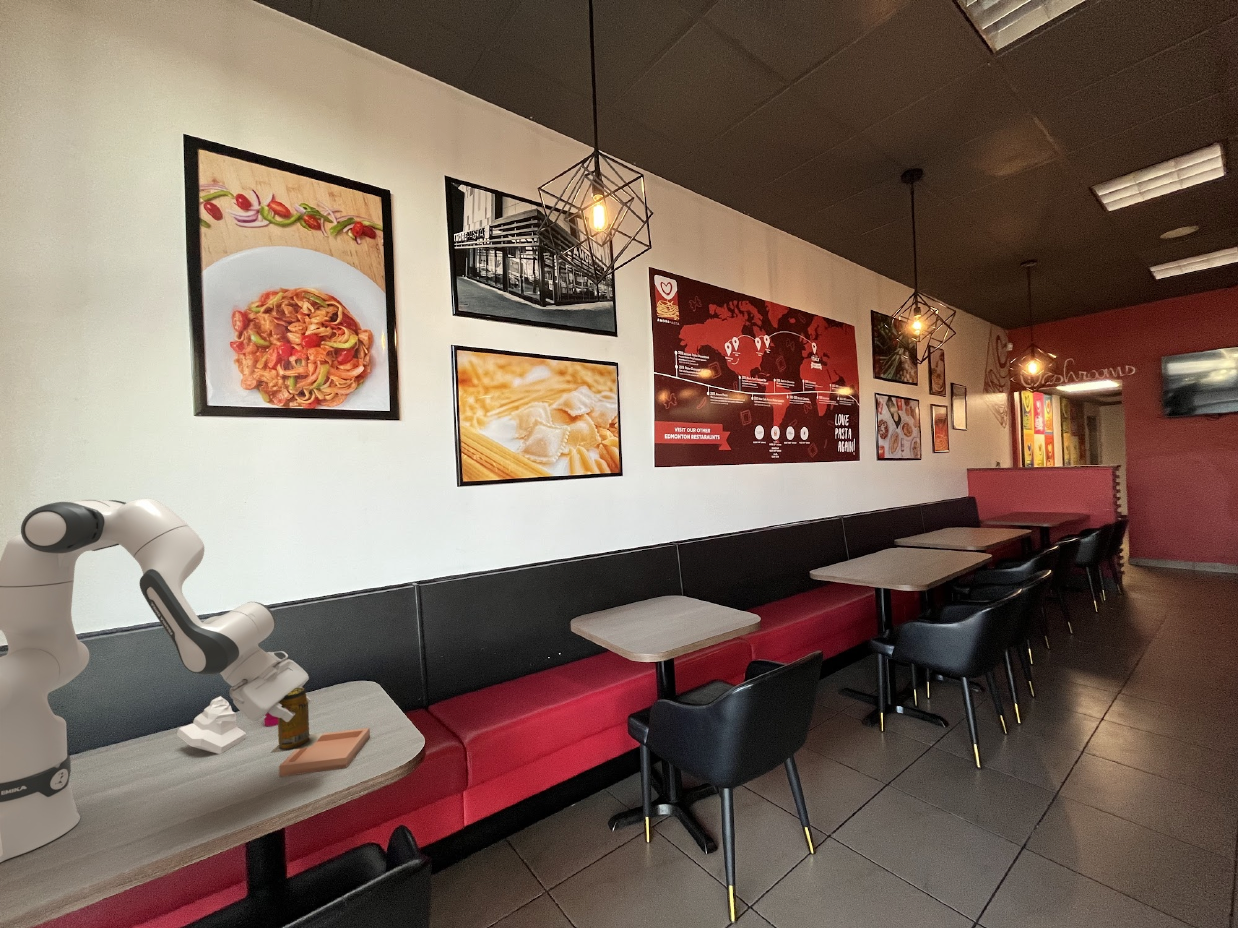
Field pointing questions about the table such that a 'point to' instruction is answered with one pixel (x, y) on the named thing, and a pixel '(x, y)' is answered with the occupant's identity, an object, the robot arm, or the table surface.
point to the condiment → (295, 723)
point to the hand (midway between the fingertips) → (300, 711)
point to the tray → (326, 753)
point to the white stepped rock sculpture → (213, 728)
